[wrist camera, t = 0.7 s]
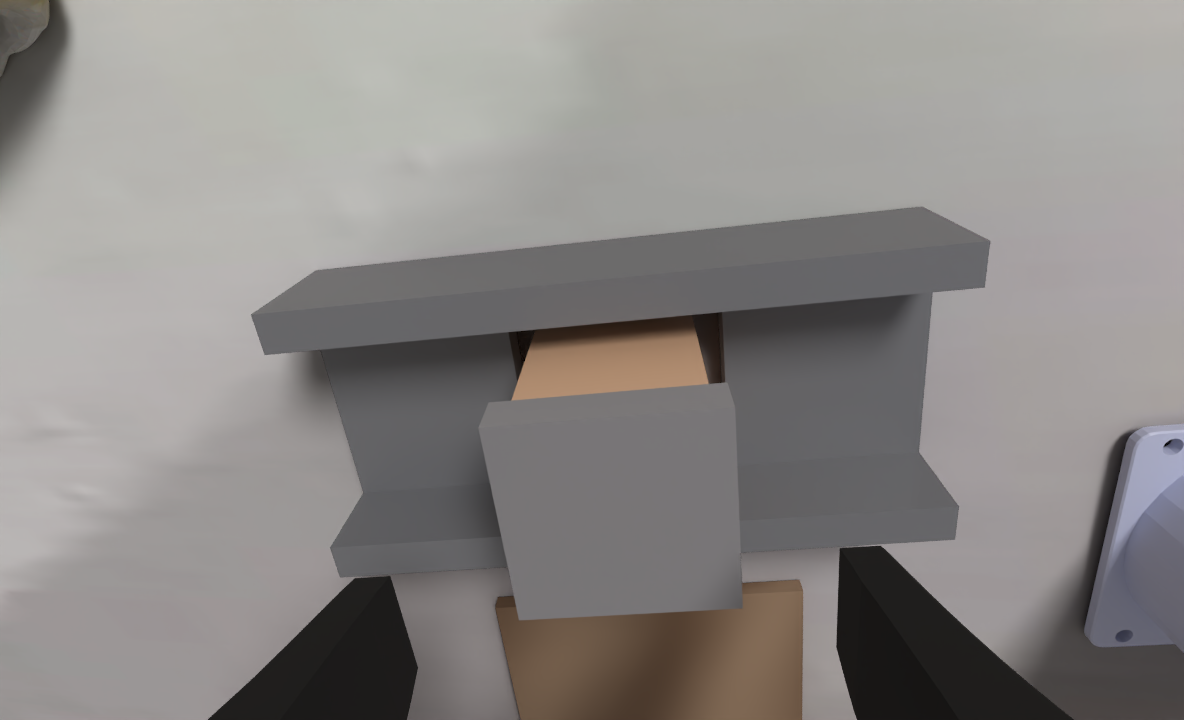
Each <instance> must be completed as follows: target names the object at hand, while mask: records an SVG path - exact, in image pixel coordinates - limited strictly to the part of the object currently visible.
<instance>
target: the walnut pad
mask: <svg viewBox="0 0 1184 720" xmlns="http://www.w3.org/2000/svg"><path fill="white" fill-rule="evenodd" d="M742 597H743V608H741V609H722V610H704V611H685V612H666V613H648V614H629V615H610V616H592V617H573V618H554V619H536V620H519V618H518V613H517V608H516V603H515V599H514V596H510V597H498V599H497V603H496V607H495V609H496V613H497V618H498V622H499V626H500V631H501V635H502V639H503V644H504V648H505V653H506V657H507V661H508V666H509V670H510V675H511V679H512V683H513V688H514V692H515V696H516V701H517V705H518V710H519V714H520V718H521V720H802V658H803V589H802V586H801V583H800V580H788V581H771V582H753V583H742Z"/></svg>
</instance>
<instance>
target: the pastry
mask: <svg viewBox="0 0 1184 720" xmlns="http://www.w3.org/2000/svg"><path fill="white" fill-rule="evenodd" d="M48 22H49V0H0V77H1V76H2V74H3V71H4V68H5V66H6V63H7V60H8V57H9V55H11V54H13V53H15V52H21V51H23V50H25V49H27V48H28V47H29V46H30V45H31V44H33V43H34V41H35V40H36V39H37V38H38V37H39V35H40V34H41V32H42V31H43V30H44V29H45V28H46V27H47V26H48Z"/></svg>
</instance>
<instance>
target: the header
mask: <svg viewBox="0 0 1184 720" xmlns="http://www.w3.org/2000/svg"><path fill="white" fill-rule="evenodd" d="M989 247H990V241H989V240H988V239H986V238H984V237H982V236H980V235H978V234H976V233H974V232H972V231H970V230H968V229H966V228H964V227H962V226H960V225H958V224H956V223H954V222H952V221H950V220H948V219H946V218H944V217H942V216H940V215H938V214H936V213H934V212H932V211H930V210H928V209H926V208H924V207H915V208H906V209H896V210H887V211H877V212H868V213H858V214H849V215H839V216H830V217H820V218H811V219H801V220H792V221H782V222H773V223H763V224H754V225H744V226H735V227H725V228H716V229H706V230H697V231H687V232H678V233H668V234H659V235H649V236H639V237H630V238H620V239H611V240H601V241H592V242H582V243H573V244H563V245H554V246H544V247H535V248H525V249H516V250H506V251H497V252H487V253H478V254H468V255H459V256H449V257H440V258H430V259H421V260H411V261H402V262H392V263H383V264H373V265H364V266H354V267H345V268H335V269H326V270H316V271H314V272H313V273H312V274H310V275H309V276H307V277H306V278H304V279H303V280H301V281H300V282H298V283H297V284H295V285H294V286H292V287H291V288H289V289H288V290H287V291H285V292H284V293H282V294H281V295H279V296H278V297H276V298H275V299H273V300H272V301H270V302H269V303H267V304H266V305H265V306H263V307H262V308H260V309H259V310H257V311H256V312H254V313H253V314H251V316H252V319H253V322H254V325H255V328H256V331H257V334H258V337H259V340H260V343H261V346H262V348H263V351H264V354H265V355H270V354H281V353H291V352H302V351H312V350H321V353H322V357H323V360H324V363H325V367H326V370H327V373H328V377H329V380H330V383H331V387H332V390H333V393H334V396H335V400H336V403H337V406H338V410H339V413H340V416H341V420H342V423H343V426H344V430H345V433H346V436H347V439H348V443H349V446H350V449H351V453H352V456H353V459H354V463H355V466H356V469H357V473H358V476H359V479H360V482H361V486H362V489H363V492H364V493H363V495H362V496H361V498H360V500H359V501H358V503H357V504H356V506H355V508H354V509H353V511H352V513H351V514H350V516H349V518H348V519H347V521H346V523H345V524H344V526H343V528H342V529H341V531H340V532H339V534H338V536H337V537H336V539H335V541H334V542H333V544H332V546H331V547H330V549H331V552H332V555H333V558H334V561H335V564H336V567H337V570H338V573H339V576H340V577H355V576H371V575H387V574H404V573H420V572H436V571H452V570H469V569H485V568H501V567H508V566H507V561H506V556H505V552H504V547H503V542H502V537H501V533H500V528H499V523H498V518H497V514H496V509H495V504H494V500H493V495H492V490H491V485H490V481H489V476H488V471H487V467H486V462H485V457H484V452H483V448H482V443H481V438H480V433H479V429H478V428H479V425H480V423H481V420H482V418H483V415H484V413H485V410H486V408H487V405H488V403H489V402H500V401H511V400H512V397H513V394H514V391H515V388H516V385H517V382H518V379H519V377H520V374H521V371H522V368H523V367H522V361H521V355H520V350H519V344H518V338H517V332H516V331H525V330H536V329H547V328H557V327H568V326H579V325H589V324H600V323H611V322H621V321H632V320H643V319H653V318H664V317H675V316H685V315H696V314H707V313H717V312H718V319H719V340H720V361H721V383H726V382H728V385H729V389H730V392H731V395H732V399H733V402H734V405H735V416H736V442H737V468H738V494H739V520H740V545H741V553H745V552H761V551H778V550H794V549H810V548H826V547H843V546H859V545H875V544H891V543H908V542H924V541H940V540H955V536H956V527H957V519H958V510H959V506H958V505H957V503H956V502H955V501H954V499H953V498H952V496H951V495H950V494H949V492H948V491H947V490H946V488H945V487H944V486H943V484H942V483H941V482H940V480H939V479H938V477H937V476H936V475H935V473H934V472H933V471H932V469H931V468H930V467H929V465H928V464H927V463H926V461H925V460H924V458H923V457H922V456H921V454H920V453H919V444H920V433H921V421H922V409H923V398H924V386H925V374H926V363H927V351H928V339H929V328H930V316H931V305H932V293H933V292H941V291H951V290H962V289H973V288H983V287H985V281H986V272H987V264H988V255H989Z"/></svg>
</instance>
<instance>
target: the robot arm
mask: <svg viewBox="0 0 1184 720" xmlns="http://www.w3.org/2000/svg"><path fill="white" fill-rule="evenodd" d="M1172 439H1173V440H1172ZM1169 440H1172V442H1171V443H1170V444H1169V445H1167V446H1165V447H1163V446H1164V445H1165V443H1166V442H1168V441H1169ZM1084 634H1085V635H1086V636H1087V638H1088V639H1089V640H1090V641H1091V643H1092V644H1093V645H1095V646H1097V647H1123V646H1145V645H1166V644H1175V645H1176V646H1177V647H1178V648H1179V649H1180V650H1181V651H1182V652H1183V653H1184V424H1175V425H1161V426H1149V427H1144V428H1141V429H1139V430H1137V431H1135V432H1134V433H1133V434H1132V435H1131V436H1130V437H1129V439H1128V441H1127V443H1126V447H1125V451H1124V456H1123V460H1122V464H1121V469H1120V473H1119V478H1118V482H1117V487H1116V491H1115V495H1114V500H1113V504H1112V509H1111V513H1110V517H1109V522H1108V526H1107V531H1106V535H1105V540H1104V544H1103V548H1102V553H1101V557H1100V562H1099V566H1098V570H1097V575H1096V579H1095V584H1094V588H1093V593H1092V597H1091V601H1090V606H1089V610H1088V615H1087V619H1086V623H1085V628H1084ZM836 647H837V651H838V655H839V658H840V662H841V666H842V670H843V673H844V677H845V681H846V684H847V688H848V691H849V695H850V698H851V702H852V705H853V709H854V712H855V715H856V718H857V720H1074V719H1072V718H1071V717H1070V716H1068V715H1067V714H1066V713H1065V712H1063V711H1062V710H1061V709H1060V708H1058V707H1057V706H1056V705H1055V704H1053V703H1052V702H1051V701H1050V700H1049V699H1047V698H1046V697H1045V696H1044V695H1043V694H1041V693H1040V692H1039V691H1038V690H1037V689H1035V688H1034V687H1033V686H1032V685H1030V684H1029V683H1028V682H1027V681H1026V680H1024V679H1023V678H1022V677H1021V676H1020V675H1019V674H1017V673H1016V672H1015V671H1014V670H1013V669H1012V668H1010V667H1009V666H1008V665H1007V664H1006V663H1005V662H1003V661H1002V660H1001V659H1000V658H999V657H998V656H997V655H996V654H995V653H993V652H992V651H991V650H990V649H989V648H988V647H987V646H986V645H985V644H983V643H982V642H981V641H980V640H979V639H978V638H977V637H976V636H975V635H973V634H972V633H971V632H970V631H969V630H968V629H967V628H966V627H965V626H963V625H962V624H961V623H960V622H959V621H958V620H957V619H956V618H955V617H954V616H953V615H952V614H951V613H950V612H949V611H947V610H946V609H945V608H944V607H943V606H942V605H941V604H940V603H939V602H938V601H937V600H936V599H935V598H934V597H933V596H932V595H931V594H930V593H929V592H928V591H927V590H926V589H925V588H924V587H923V586H922V585H921V584H920V583H919V582H918V581H917V580H915V579H914V578H913V577H912V576H911V575H910V574H909V573H908V572H907V571H906V570H905V569H904V568H903V567H902V566H901V565H900V564H899V563H898V562H897V561H896V560H895V559H894V558H893V557H892V556H891V555H890V554H889V553H888V552H887V551H886V550H885V549H884V548H883V547H881V546H869V547H853V548H840V557H839V587H838V616H837V646H836ZM417 669H418V666H417V663H416V660H415V656H414V653H413V650H412V647H411V643H410V640H409V637H408V633H407V630H406V627H405V623H404V620H403V617H402V613H401V610H400V607H399V603H398V600H397V597H396V594H395V590H394V587H393V584H392V580H391V577H390V576H386V577H370V578H355V579H354V580H353V581H352V582H350V583H349V584H348V585H347V586H346V587H345V588H344V589H343V590H342V591H341V592H340V593H339V594H338V595H337V596H336V597H335V598H334V599H333V600H332V601H331V602H330V603H329V604H328V605H327V606H326V607H325V608H324V609H323V610H322V611H321V612H320V613H319V614H318V615H317V616H316V617H315V618H314V619H313V620H312V621H311V622H310V623H309V624H308V625H307V626H306V627H305V628H304V629H303V630H302V631H301V632H300V633H299V634H298V635H297V636H296V637H295V638H294V639H293V640H292V641H291V642H290V643H289V644H288V645H287V646H286V647H285V648H283V649H282V650H281V651H280V652H279V653H278V654H277V655H276V656H275V657H274V658H273V659H272V660H271V661H270V662H269V663H268V664H267V665H266V666H265V667H264V668H263V669H262V670H261V671H260V672H259V673H258V674H257V675H256V676H255V677H254V678H253V679H252V680H251V681H250V682H249V683H247V684H246V685H245V686H244V687H243V688H242V689H241V690H240V691H239V692H238V693H236V694H235V695H234V696H233V697H232V698H231V699H230V700H229V701H228V702H227V703H225V704H224V705H223V706H222V707H221V708H220V709H219V710H218V711H217V712H216V713H215V714H213V715H212V716H211V717H210V718H209V719H208V720H407V716H408V712H409V708H410V703H411V699H412V694H413V689H414V684H415V679H416V674H417Z"/></svg>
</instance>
